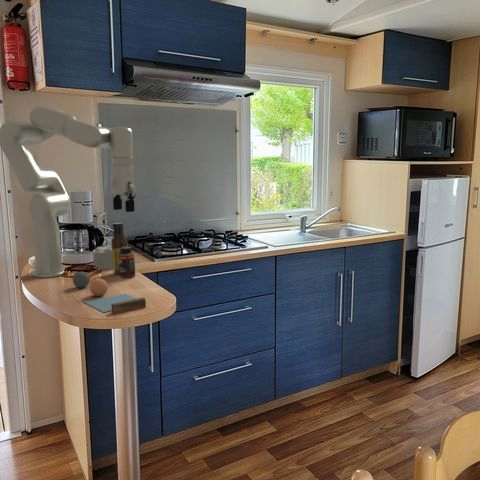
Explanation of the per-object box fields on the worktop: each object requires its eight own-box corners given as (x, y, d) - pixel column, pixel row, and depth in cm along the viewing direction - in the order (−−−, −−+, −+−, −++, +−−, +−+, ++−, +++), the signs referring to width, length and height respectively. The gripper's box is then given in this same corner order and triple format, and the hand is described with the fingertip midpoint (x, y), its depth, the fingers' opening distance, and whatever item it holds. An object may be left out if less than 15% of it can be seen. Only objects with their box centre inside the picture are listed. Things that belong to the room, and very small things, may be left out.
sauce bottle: (133, 272, 188) (131, 222, 184) (123, 275, 182) (120, 224, 179) (119, 271, 190) (117, 221, 187) (109, 274, 185) (106, 223, 182)
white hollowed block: (93, 265, 202) (92, 245, 200) (124, 263, 206) (123, 243, 204) (94, 270, 192) (92, 249, 191) (127, 268, 196) (126, 247, 195)
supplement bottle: (137, 275, 183) (136, 246, 182) (132, 278, 177) (131, 248, 176) (122, 274, 184) (121, 246, 182) (117, 278, 178) (115, 248, 176)
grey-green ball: (70, 287, 165) (69, 271, 164) (86, 284, 169) (85, 269, 168) (77, 290, 161) (76, 274, 160) (92, 287, 165) (92, 271, 164)
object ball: (87, 295, 155) (86, 278, 154) (103, 292, 158) (102, 276, 158) (94, 299, 151) (93, 281, 150) (111, 295, 154) (110, 278, 153)
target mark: (83, 302, 147) (83, 301, 147) (124, 294, 156) (124, 293, 156) (103, 312, 137) (103, 312, 137) (146, 303, 146) (146, 302, 146)
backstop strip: (111, 312, 137) (111, 303, 137) (142, 305, 144) (142, 297, 143) (114, 313, 136) (114, 305, 135) (145, 306, 142) (145, 298, 142)
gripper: (102, 162, 174) (103, 209, 176) (123, 162, 160) (125, 213, 163) (121, 162, 178) (122, 208, 181) (143, 163, 165) (144, 212, 168)
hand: (123, 210), depth 172 cm, fingers open, 9 cm apart
